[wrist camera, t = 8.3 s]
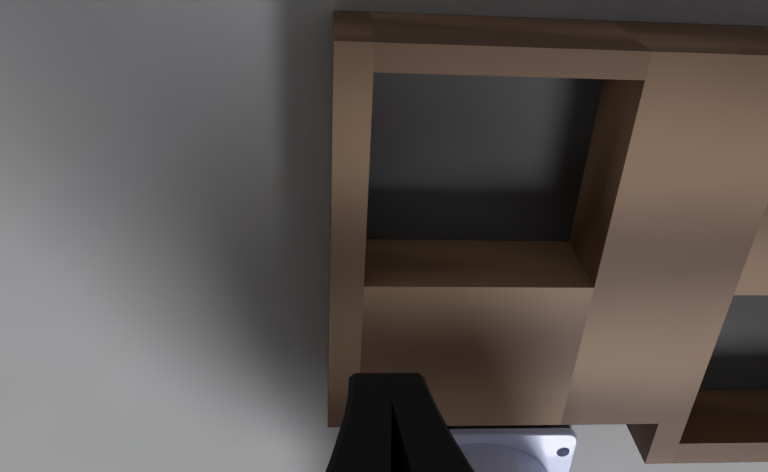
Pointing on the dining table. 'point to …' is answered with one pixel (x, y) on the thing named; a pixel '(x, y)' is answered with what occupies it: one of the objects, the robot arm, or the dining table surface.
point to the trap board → (555, 223)
